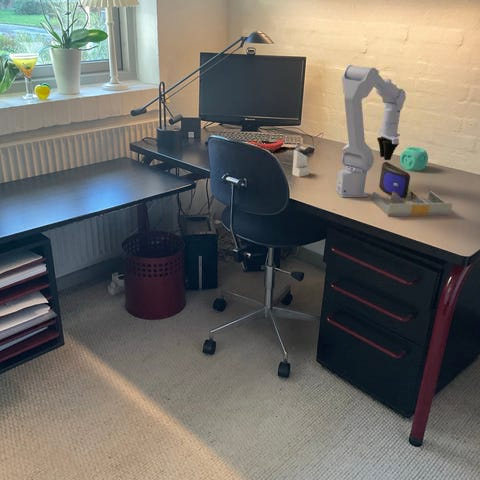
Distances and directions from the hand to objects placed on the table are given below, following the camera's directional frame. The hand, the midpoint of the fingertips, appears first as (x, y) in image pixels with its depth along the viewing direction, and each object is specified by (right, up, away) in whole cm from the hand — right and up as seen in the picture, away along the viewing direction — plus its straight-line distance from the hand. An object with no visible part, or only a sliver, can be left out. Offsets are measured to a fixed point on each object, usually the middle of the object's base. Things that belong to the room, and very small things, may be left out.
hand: (385, 158), depth 199 cm
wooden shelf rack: (+3, -19, -20) cm, 28 cm away
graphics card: (-51, +12, +47) cm, 70 cm away
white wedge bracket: (-30, -5, +11) cm, 32 cm away
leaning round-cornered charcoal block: (+1, -13, -6) cm, 15 cm away
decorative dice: (+17, -1, +23) cm, 29 cm away
